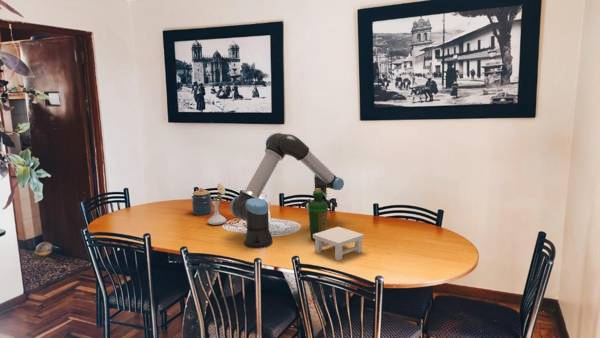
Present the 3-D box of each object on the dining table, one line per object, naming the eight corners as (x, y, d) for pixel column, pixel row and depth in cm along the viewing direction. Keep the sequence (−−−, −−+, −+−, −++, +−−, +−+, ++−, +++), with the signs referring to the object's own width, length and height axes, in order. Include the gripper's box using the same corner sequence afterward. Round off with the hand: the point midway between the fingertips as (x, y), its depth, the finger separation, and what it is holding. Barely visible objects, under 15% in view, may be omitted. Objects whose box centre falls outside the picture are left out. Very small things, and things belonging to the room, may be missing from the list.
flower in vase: (216, 227, 256) (214, 186, 252) (203, 224, 263) (201, 184, 258) (232, 222, 266) (230, 183, 262) (219, 219, 273) (217, 181, 269)
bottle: (328, 242, 226) (328, 190, 221) (308, 242, 226) (307, 191, 222) (327, 235, 237) (327, 186, 232) (308, 235, 237) (307, 186, 232)
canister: (191, 212, 291) (189, 187, 288) (209, 209, 296) (208, 185, 293) (194, 216, 279) (193, 190, 276) (214, 214, 285) (212, 188, 282)
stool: (338, 261, 199) (338, 243, 198) (313, 251, 213) (312, 234, 211) (364, 251, 211) (364, 234, 209) (338, 242, 224) (338, 226, 223)
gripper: (340, 205, 258) (341, 214, 237) (299, 205, 260) (297, 214, 239) (340, 193, 256) (341, 201, 236) (299, 193, 258) (296, 201, 238)
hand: (319, 208), depth 237 cm, fingers open, 13 cm apart
